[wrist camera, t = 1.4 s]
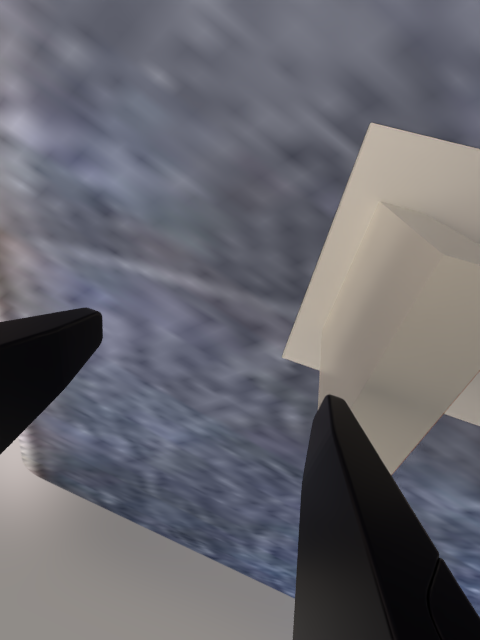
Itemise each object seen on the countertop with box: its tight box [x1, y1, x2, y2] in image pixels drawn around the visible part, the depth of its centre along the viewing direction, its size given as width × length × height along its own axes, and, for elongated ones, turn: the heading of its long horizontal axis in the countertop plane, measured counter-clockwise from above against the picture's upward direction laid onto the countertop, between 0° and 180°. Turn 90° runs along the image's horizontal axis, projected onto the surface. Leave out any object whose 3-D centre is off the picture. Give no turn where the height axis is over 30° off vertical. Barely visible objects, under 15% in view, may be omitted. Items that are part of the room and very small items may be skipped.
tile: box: [318, 201, 480, 475], centre depth 13 cm, size 2×8×10 cm, turn 167°
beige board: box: [282, 123, 480, 426], centre depth 16 cm, size 18×14×1 cm
